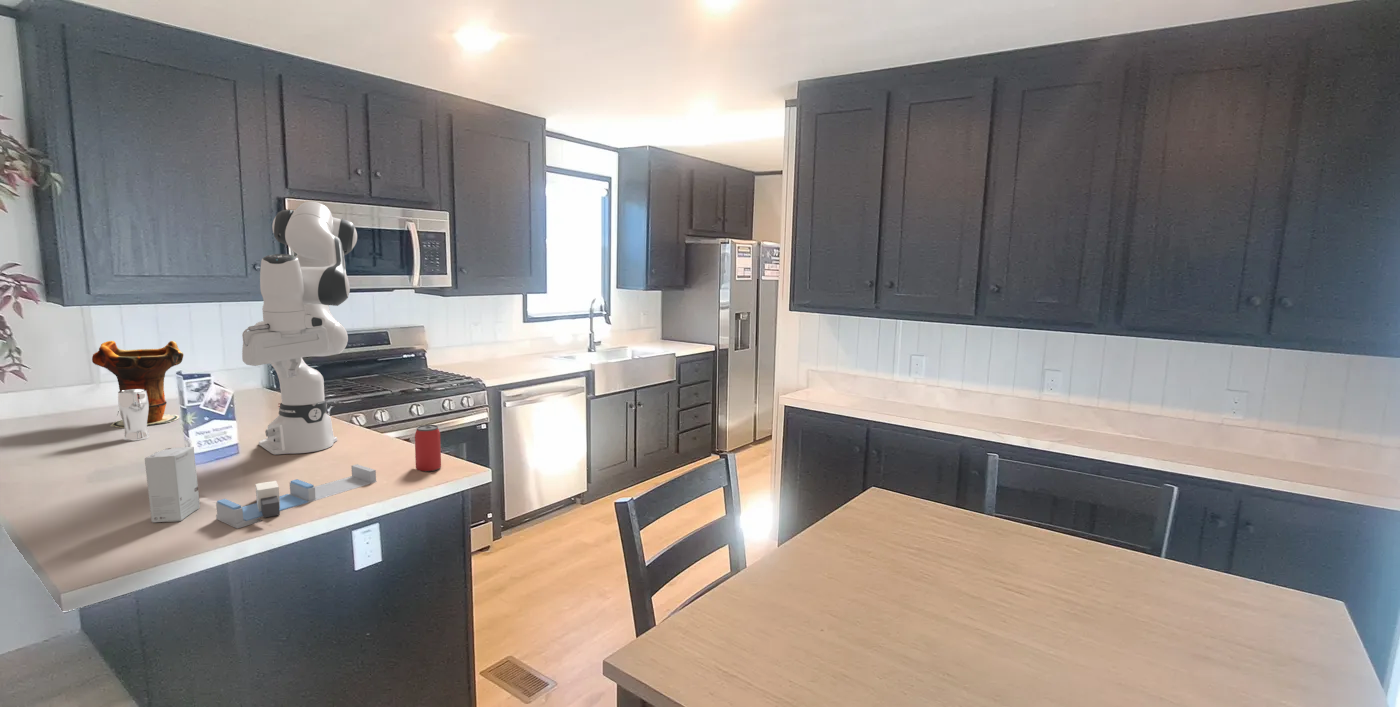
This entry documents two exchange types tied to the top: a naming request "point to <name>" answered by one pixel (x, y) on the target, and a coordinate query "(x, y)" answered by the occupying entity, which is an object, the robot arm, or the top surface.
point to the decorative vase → (141, 374)
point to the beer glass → (134, 413)
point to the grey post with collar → (268, 498)
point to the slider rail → (294, 497)
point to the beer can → (427, 448)
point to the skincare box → (172, 484)
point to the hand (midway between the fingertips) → (289, 376)
